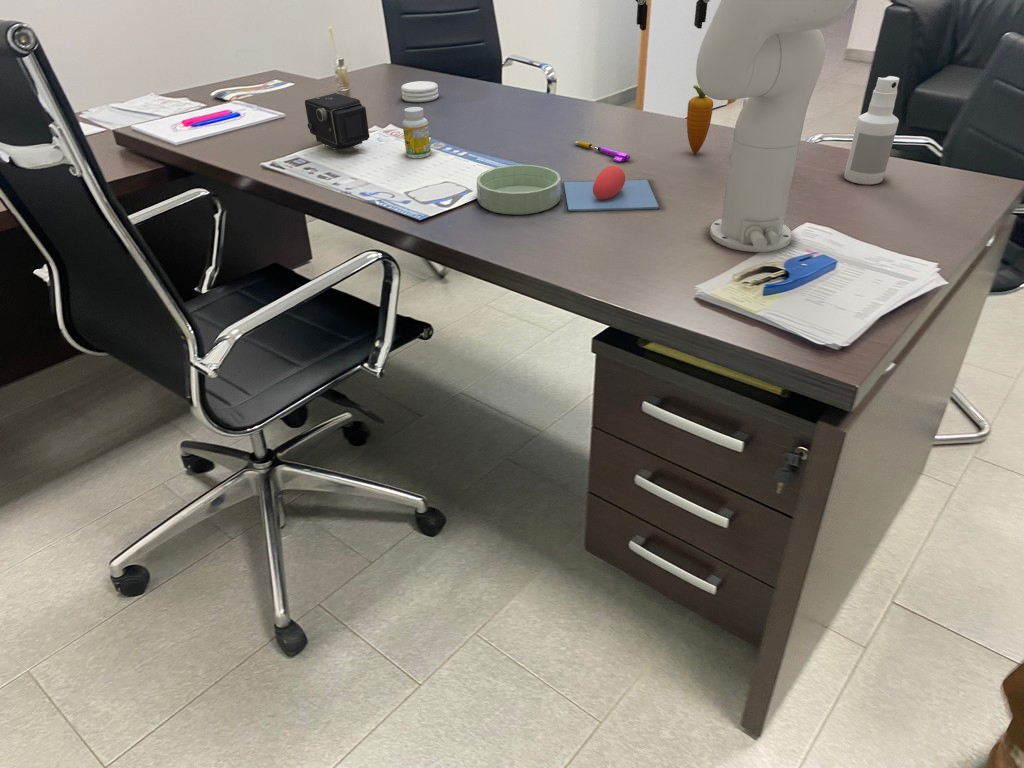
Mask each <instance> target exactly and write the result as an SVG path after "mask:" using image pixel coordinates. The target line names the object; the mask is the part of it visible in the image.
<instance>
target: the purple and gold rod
mask: <svg viewBox="0 0 1024 768" xmlns="http://www.w3.org/2000/svg"><path fill="white" fill-rule="evenodd" d="M574 143H575V145H578V146H580V147H583V148H585V149H587V150H591V149H596V150H597V151H598V152H599V153H602V154H605V155H609V156H613V157H614V158H612V159H613V162H616V163H619V164H620V163H622V162H627V161H629V160H630V159H631V155H630V154H629V153H624V152H620V151H616V150H614V149H610V148H606V147H603V146H598V147H596V146H593V144H592V143H590V142H585V141H582V140H576V141H575V142H574Z"/></svg>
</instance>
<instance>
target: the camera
mask: <svg viewBox="0 0 1024 768" xmlns="http://www.w3.org/2000/svg"><path fill="white" fill-rule="evenodd" d="M304 107H305V112H306V117H307V128H308V130H309V132H310V134H311V135H313V136H315V139H316V141H317V142H318V143H322V144H323V145H324V146H327V147H329V148H331V149H334V150H336V151H338V150H339V152H340V153H343V154H347V153H353V152H354V151H355V148H354V147H355V146H358V145H361V144H363V142H365V141H368V140H369V139H370V131H369V123H368V122H369V121H368V115H367V108H366V106H365V105H363V103H361V100H360V99H358V98H356V97H351V96H348V95H344V94H341V93H337V92H333V93H330V94H325V95H322V96H317V97H313V98H308V99H305V100H304Z"/></svg>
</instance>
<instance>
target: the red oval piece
mask: <svg viewBox="0 0 1024 768" xmlns="http://www.w3.org/2000/svg"><path fill="white" fill-rule="evenodd" d="M625 173H626V172H624V170H623V168H621V167H619V166H618V165H614V164H613V165H608V166H606V167H604V168H603V169H602V170H601V171H600V173H598V175H597V177H596V178H595V180H594V181H595V182H594V185H593V194H594V196H595V197H596V198H598V199H600V200H605V199H609V198H611V197H613V196H614V195H616V194H617V193H618V192H619V191H620V190H621V189H622V187H623V186H624V183H625V180H626V174H625Z"/></svg>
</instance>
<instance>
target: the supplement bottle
mask: <svg viewBox="0 0 1024 768" xmlns="http://www.w3.org/2000/svg"><path fill="white" fill-rule="evenodd" d="M424 112H425V111H424V108H423V107H421V106H409V107H406V108H404V111H403V113H404V117H405V119H403V121H402V130H403V138H404V146H405V154H406V156H407V157H408V158H411V159H423V158H427V157H429V156H430V155H431V154H432V153H431V152H432V150H431V149H432V148H431V141H430V131H429V130H430V129H429V122H428V119H427V118H425V117H424V115H425V113H424Z"/></svg>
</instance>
